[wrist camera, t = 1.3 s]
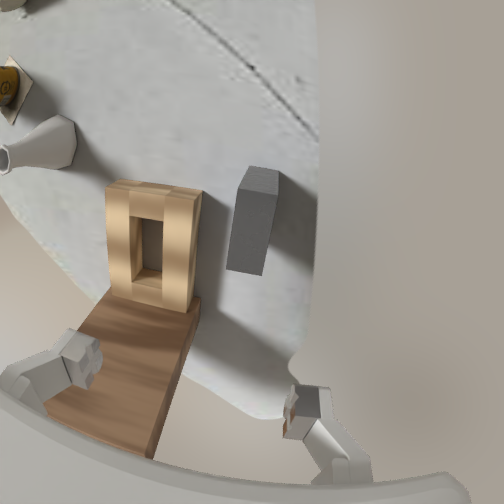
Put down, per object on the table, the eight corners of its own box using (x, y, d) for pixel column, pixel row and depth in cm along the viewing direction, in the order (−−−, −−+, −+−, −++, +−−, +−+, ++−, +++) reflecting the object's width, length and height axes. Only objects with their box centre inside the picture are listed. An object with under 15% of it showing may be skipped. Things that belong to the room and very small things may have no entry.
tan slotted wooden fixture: (113, 178, 31) (-35, 275, 12) (211, 192, 31) (111, 335, 12) (119, 301, 40) (42, 424, 20) (199, 321, 40) (149, 469, 20)
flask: (81, 114, 28) (22, 125, 19) (77, 172, 31) (23, 198, 22) (41, 113, 28) (-16, 126, 19) (38, 166, 31) (-14, 189, 22)
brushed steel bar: (249, 165, 30) (237, 188, 22) (278, 170, 30) (278, 195, 22) (239, 227, 33) (225, 269, 25) (266, 232, 33) (261, 276, 25)
